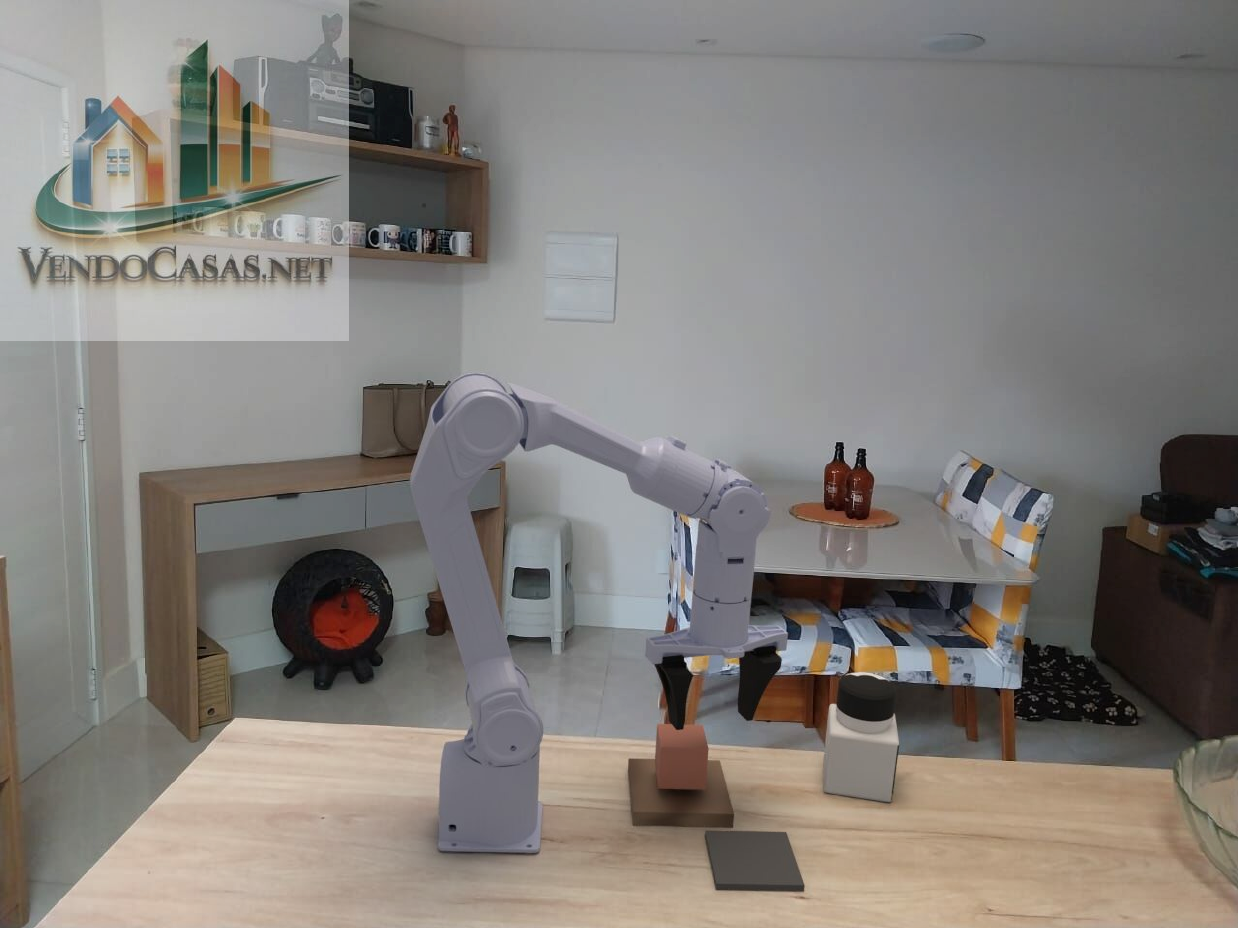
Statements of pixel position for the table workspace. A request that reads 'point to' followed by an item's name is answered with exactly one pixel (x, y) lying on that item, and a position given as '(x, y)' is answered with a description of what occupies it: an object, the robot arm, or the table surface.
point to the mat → (753, 861)
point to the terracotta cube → (681, 757)
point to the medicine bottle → (862, 739)
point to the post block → (678, 799)
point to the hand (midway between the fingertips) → (711, 720)
